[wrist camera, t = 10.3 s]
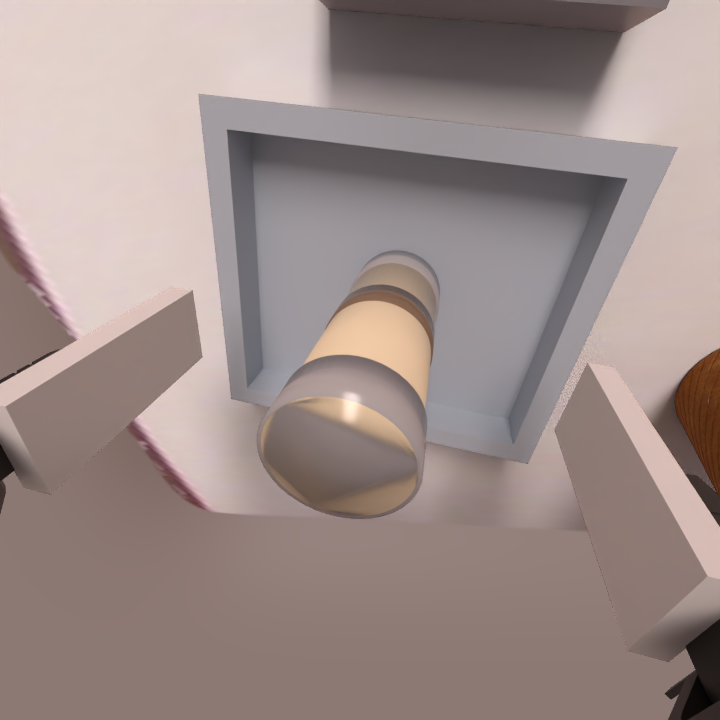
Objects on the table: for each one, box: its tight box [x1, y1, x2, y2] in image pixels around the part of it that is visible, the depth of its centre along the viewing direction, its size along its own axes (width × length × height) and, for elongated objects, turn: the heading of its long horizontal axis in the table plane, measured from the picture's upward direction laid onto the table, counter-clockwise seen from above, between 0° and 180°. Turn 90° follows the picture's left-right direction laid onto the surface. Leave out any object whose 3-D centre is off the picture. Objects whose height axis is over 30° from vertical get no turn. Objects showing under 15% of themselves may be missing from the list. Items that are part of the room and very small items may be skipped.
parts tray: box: [199, 94, 678, 464], centre depth 18 cm, size 16×14×2 cm
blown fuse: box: [257, 250, 440, 519], centre depth 14 cm, size 4×4×11 cm
